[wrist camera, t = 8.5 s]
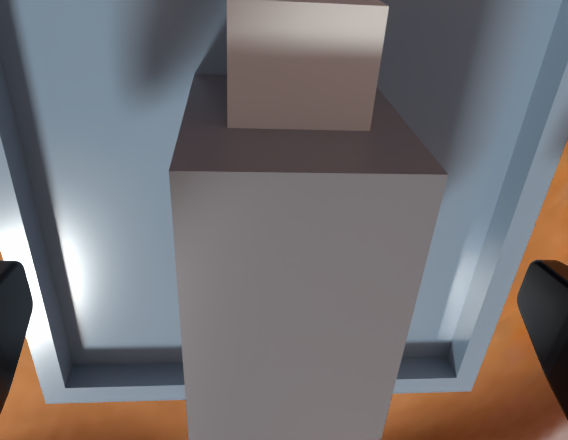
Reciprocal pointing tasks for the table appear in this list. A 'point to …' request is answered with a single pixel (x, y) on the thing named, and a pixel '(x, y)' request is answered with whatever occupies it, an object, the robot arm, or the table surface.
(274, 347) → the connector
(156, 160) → the dish
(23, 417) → the table surface
